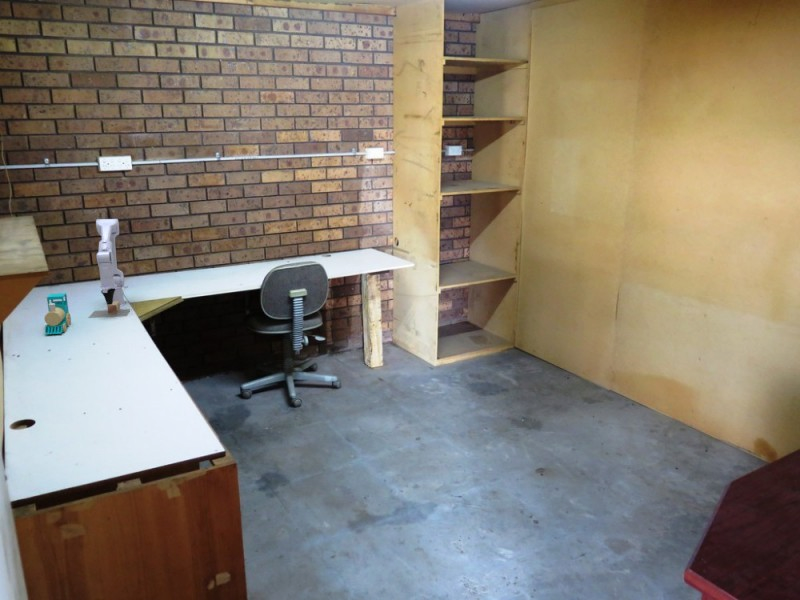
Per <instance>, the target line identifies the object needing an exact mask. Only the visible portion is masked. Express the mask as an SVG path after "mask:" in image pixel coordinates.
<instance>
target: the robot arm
mask: <svg viewBox="0 0 800 600" xmlns="http://www.w3.org/2000/svg"><path fill="white" fill-rule="evenodd" d="M95 226H96V227H95V228H96V231H97V233H98V235H99V236H101V240H100V241H99V242H98V252H97V253H96V261H97V266H98V269H99V270H98V271H99V276H100V277H99V278H100V288H101V290H100V292H101V295H102V296H103V297H104V300H105V302H106V305H105V307H107V305H110V304H112V303H113V302H115V301H119V303H120V307H123V306H124V305H125V304H126V303H127V301H126V300H125V297H124V289H123V287H125V285H126V284H125V275H124V272H123V271H122V270H120V269H119V268H118V263H117V251H116V250H117V248H116V237H117V236H119V235H120V223H119V219H117V218H104V219H103V218H102V219H100V218H97V219H96V221H95ZM125 302H126V303H125ZM107 308H108V307H107Z"/></svg>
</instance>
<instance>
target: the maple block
mask: <svg viewBox="0 0 800 600" xmlns="http://www.w3.org/2000/svg"><path fill="white" fill-rule="evenodd" d="M106 305H107V304H106ZM107 310H108V313H117V312H118V311H119V310H121V306H120V303H119V301H115V302H113V303H112V304H110V305H107Z"/></svg>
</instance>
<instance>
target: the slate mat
mask: <svg viewBox="0 0 800 600" xmlns="http://www.w3.org/2000/svg"><path fill="white" fill-rule="evenodd" d="M130 309H131V308H129V309H127V308H125V309H120V310H119V311H118V312H117V313H108V309H105V310H104V309H102V310H99V309H98V310H94V311H92V313H91V314H90V315H89V316H88V317H87V318H88V319H94V318H98V319H99V318H115V317H119V318H121V317H127V316H128V315H129V313H130V312H131V311H130Z"/></svg>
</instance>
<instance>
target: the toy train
mask: <svg viewBox="0 0 800 600" xmlns="http://www.w3.org/2000/svg"><path fill="white" fill-rule="evenodd" d="M55 300H56V301H55ZM46 301H47V308H48V312H47V313H46V314H45V315H44V323H45V325H44V335H58V334H62V333H66V332H67V327H70V326H71V325H72V317H71V314H70V312H69V304H68V296H67V292H62V293H59V292H58V293H50V294H49V295H48V296H46Z"/></svg>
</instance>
